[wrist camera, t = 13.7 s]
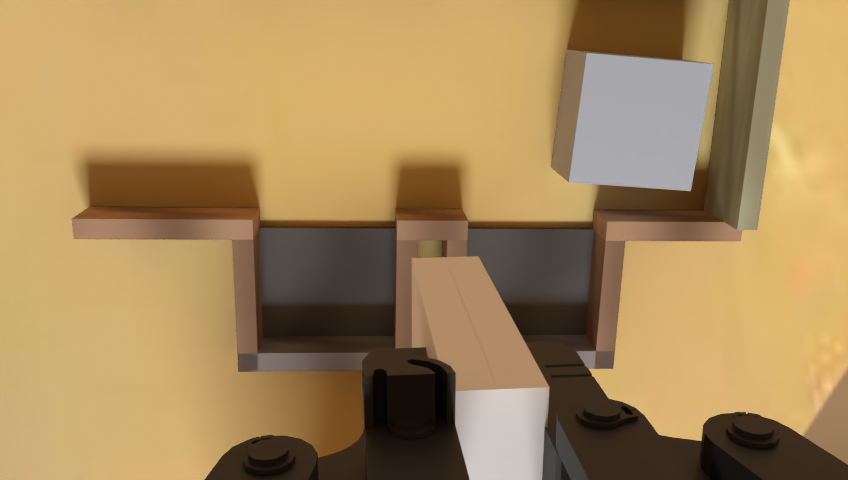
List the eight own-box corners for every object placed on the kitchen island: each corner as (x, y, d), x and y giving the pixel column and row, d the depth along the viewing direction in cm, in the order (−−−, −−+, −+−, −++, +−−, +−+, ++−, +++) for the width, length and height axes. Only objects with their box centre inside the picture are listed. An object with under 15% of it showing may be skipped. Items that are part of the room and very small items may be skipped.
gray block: (550, 166, 41) (568, 182, 38) (565, 48, 40) (586, 52, 36) (661, 174, 42) (690, 190, 38) (680, 59, 40) (713, 64, 36)
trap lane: (103, 352, 42) (76, 386, 38) (65, -45, 37) (30, -52, 33) (704, 348, 45) (735, 380, 41) (751, -26, 39) (793, -30, 35)
